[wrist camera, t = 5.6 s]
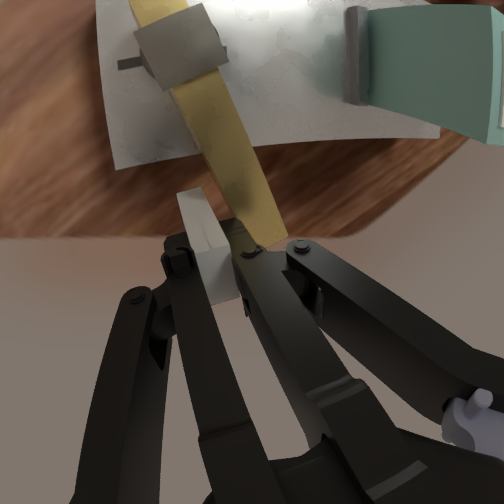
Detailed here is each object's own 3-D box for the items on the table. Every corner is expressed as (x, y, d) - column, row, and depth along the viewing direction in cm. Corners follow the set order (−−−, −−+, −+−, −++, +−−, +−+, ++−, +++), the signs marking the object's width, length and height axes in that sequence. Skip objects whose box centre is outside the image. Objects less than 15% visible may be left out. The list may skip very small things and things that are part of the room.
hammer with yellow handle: (178, 0, 12) (191, -31, 8) (267, 197, 20) (303, 236, 16) (123, 25, 12) (112, 3, 8) (223, 220, 20) (247, 266, 16)
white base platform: (403, 10, 20) (451, 8, 15) (402, 125, 26) (447, 141, 21) (106, -4, 14) (92, -29, 9) (122, 151, 20) (113, 175, 16)
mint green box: (432, 30, 17) (544, 46, 8) (431, 109, 20) (536, 150, 12) (365, 10, 15) (493, 5, 7) (366, 104, 19) (489, 145, 11)
